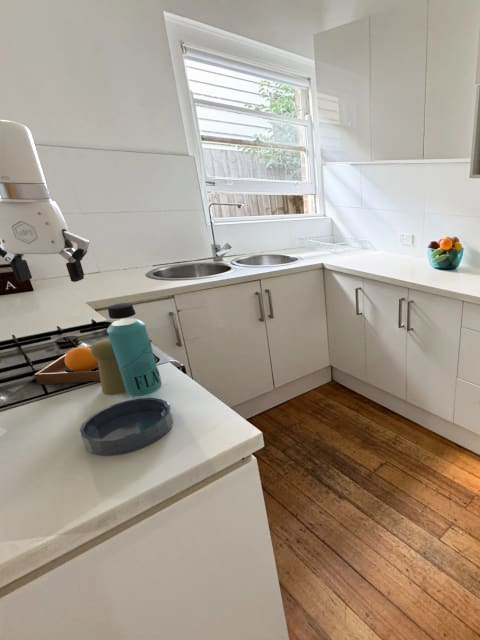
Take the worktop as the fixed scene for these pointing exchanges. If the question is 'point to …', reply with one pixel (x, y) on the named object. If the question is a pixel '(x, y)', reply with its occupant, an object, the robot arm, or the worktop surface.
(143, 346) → the beverage bottle
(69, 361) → the tangerine
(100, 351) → the cork
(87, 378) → the tray
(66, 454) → the worktop surface
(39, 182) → the robot arm
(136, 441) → the dish
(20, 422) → the worktop surface
